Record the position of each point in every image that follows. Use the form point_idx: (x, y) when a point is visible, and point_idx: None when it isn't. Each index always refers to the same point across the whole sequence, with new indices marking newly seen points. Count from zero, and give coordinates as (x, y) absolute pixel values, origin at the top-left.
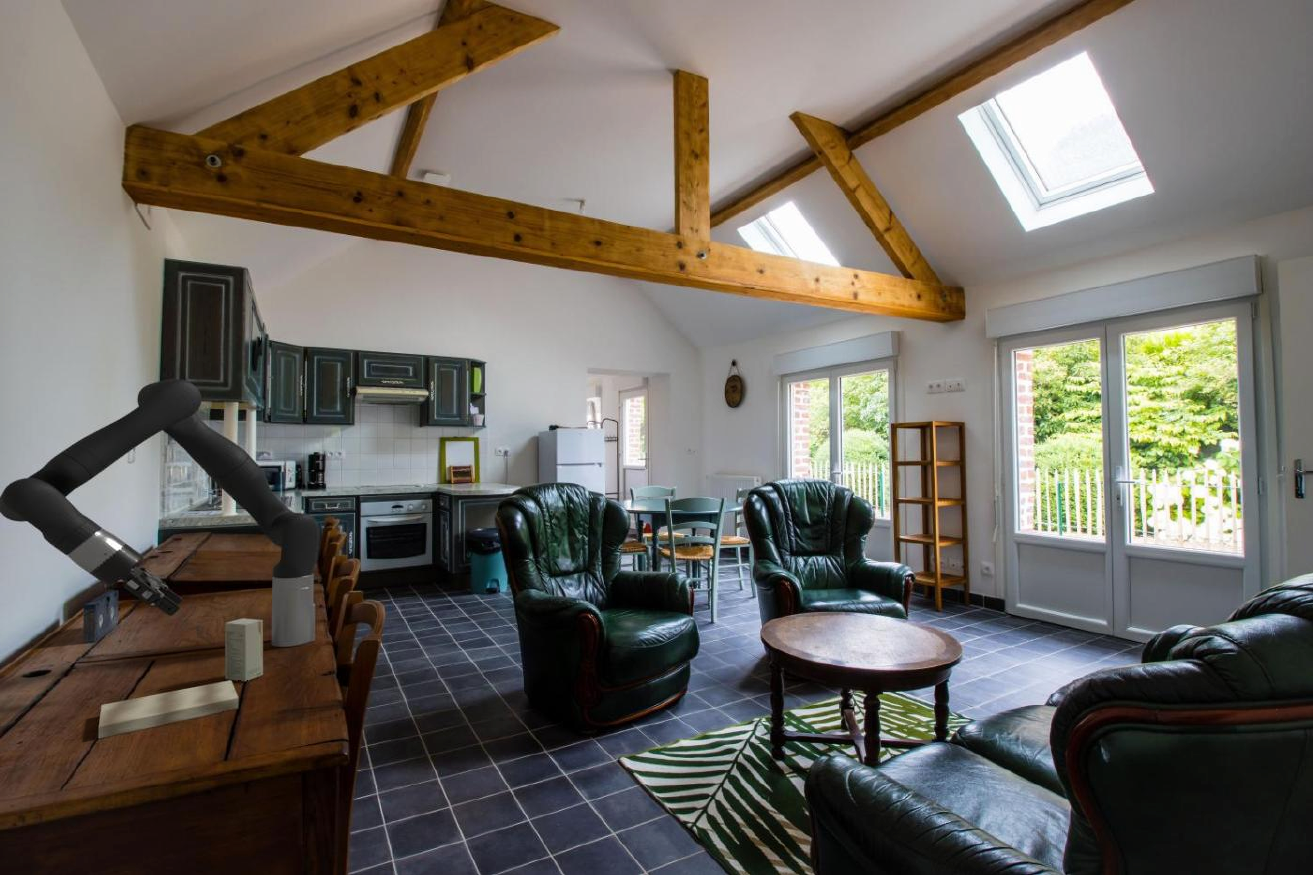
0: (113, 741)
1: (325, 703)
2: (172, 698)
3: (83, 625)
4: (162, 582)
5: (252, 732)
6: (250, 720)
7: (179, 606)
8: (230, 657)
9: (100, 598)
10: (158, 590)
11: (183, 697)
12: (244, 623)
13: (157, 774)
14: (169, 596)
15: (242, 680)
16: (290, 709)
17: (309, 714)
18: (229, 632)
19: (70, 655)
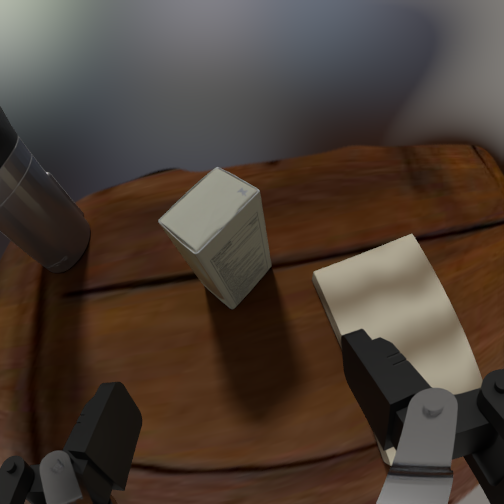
0: (488, 371)
1: (394, 151)
2: (397, 346)
3: None
4: (20, 478)
5: (472, 209)
6: (444, 217)
7: (343, 335)
8: (236, 279)
9: None
10: (425, 448)
11: (397, 327)
12: (242, 195)
13: None
14: (112, 440)
15: (266, 271)
16: (412, 181)
17: (426, 163)
18: (220, 252)
19: None
